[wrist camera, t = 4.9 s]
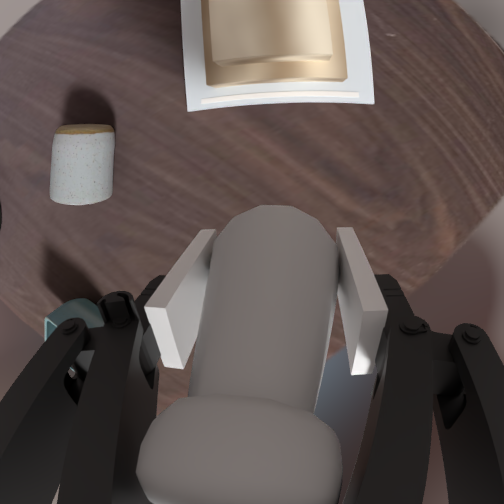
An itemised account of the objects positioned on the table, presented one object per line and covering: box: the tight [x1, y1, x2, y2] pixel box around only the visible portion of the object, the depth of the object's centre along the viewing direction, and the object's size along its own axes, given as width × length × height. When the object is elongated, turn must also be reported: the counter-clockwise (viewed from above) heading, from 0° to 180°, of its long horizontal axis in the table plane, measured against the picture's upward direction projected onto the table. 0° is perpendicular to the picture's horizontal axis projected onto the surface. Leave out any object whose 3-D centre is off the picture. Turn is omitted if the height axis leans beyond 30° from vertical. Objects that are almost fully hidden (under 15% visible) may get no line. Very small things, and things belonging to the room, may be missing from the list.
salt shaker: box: [136, 205, 343, 504], centre depth 10 cm, size 6×6×13 cm
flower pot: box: [45, 298, 104, 372], centre depth 38 cm, size 9×9×9 cm
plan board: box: [181, 0, 374, 111], centre depth 22 cm, size 18×16×1 cm
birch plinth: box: [201, 0, 348, 88], centre depth 19 cm, size 12×12×6 cm
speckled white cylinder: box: [50, 124, 115, 205], centre depth 28 cm, size 11×8×8 cm
